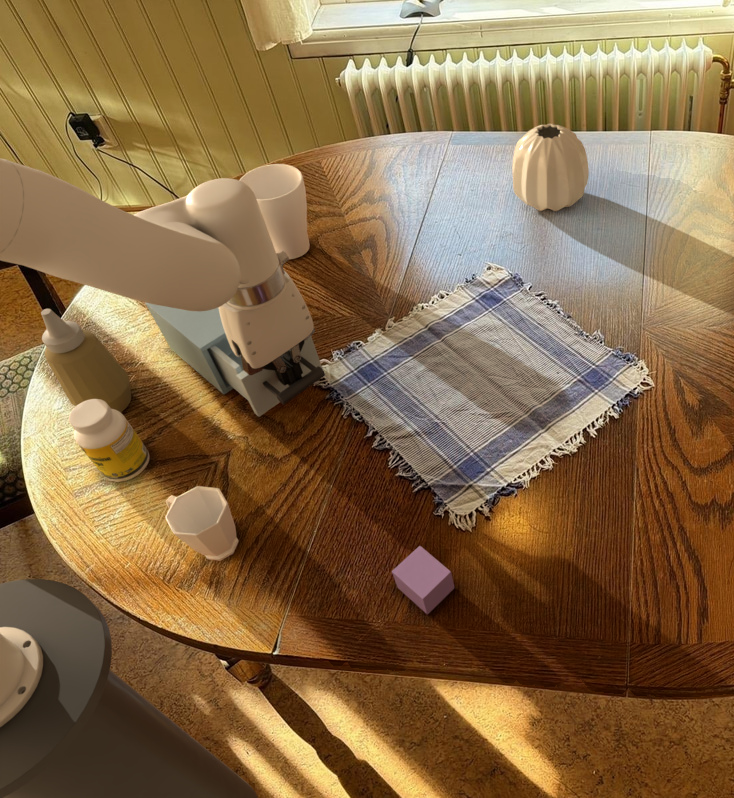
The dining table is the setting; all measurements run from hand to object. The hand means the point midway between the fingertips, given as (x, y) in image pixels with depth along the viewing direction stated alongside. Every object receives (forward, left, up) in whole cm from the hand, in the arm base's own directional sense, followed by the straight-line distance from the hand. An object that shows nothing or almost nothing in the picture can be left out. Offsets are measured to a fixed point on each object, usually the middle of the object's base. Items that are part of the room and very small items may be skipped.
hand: (293, 381), depth 103 cm
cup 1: (-21, -10, -5) cm, 24 cm away
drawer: (0, +6, -4) cm, 7 cm away
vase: (+61, +5, -5) cm, 61 cm away
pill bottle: (-22, +9, -5) cm, 24 cm away
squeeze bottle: (-18, +21, -5) cm, 28 cm away
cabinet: (0, +17, -5) cm, 18 cm away
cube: (-8, -35, -5) cm, 36 cm away
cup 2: (+21, +30, -5) cm, 37 cm away
